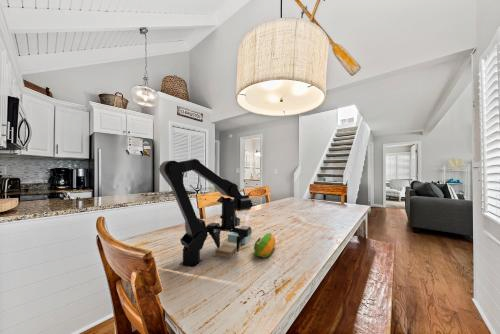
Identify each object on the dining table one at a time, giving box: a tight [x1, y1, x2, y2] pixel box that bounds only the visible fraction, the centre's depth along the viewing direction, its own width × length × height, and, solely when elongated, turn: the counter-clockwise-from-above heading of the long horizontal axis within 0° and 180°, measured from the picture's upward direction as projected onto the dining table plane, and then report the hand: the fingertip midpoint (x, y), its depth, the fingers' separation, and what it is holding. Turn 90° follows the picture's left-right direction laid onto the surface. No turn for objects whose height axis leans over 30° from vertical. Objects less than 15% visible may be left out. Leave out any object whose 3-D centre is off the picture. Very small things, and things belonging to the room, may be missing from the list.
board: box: [215, 241, 237, 258], centre depth 85 cm, size 10×6×2 cm, turn 162°
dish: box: [227, 232, 253, 246], centre depth 99 cm, size 10×9×4 cm
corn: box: [253, 232, 276, 259], centre depth 87 cm, size 7×8×20 cm
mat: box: [213, 255, 231, 260], centre depth 85 cm, size 12×9×1 cm
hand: (228, 250), depth 85 cm, fingers open, 8 cm apart
